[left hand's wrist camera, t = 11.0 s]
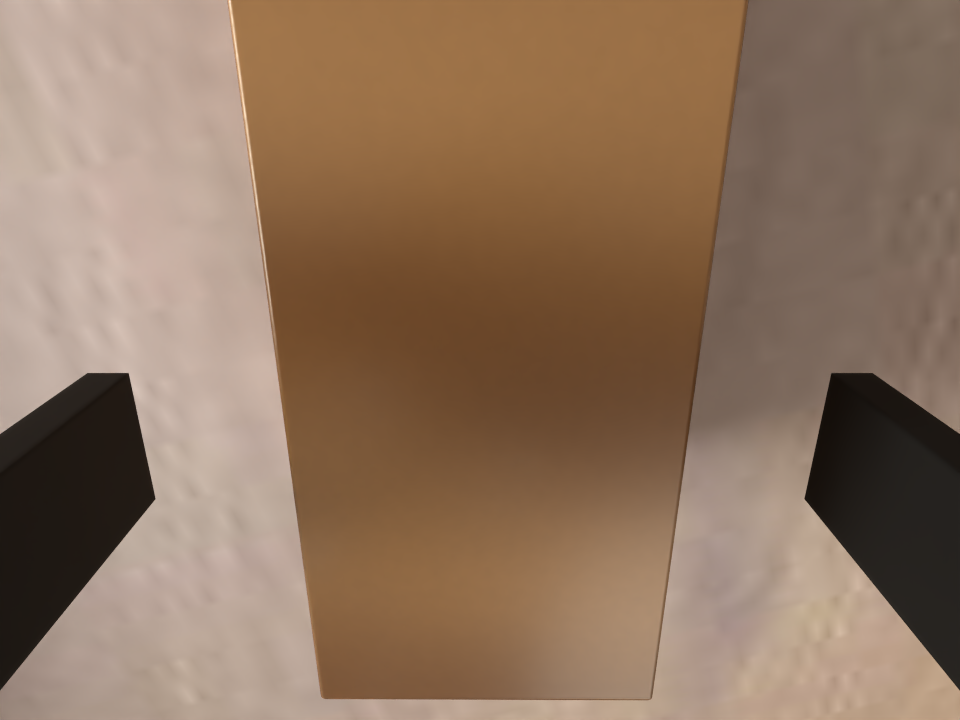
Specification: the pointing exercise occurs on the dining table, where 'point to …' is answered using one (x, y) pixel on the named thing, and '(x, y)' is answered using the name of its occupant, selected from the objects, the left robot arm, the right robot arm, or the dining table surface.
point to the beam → (487, 323)
